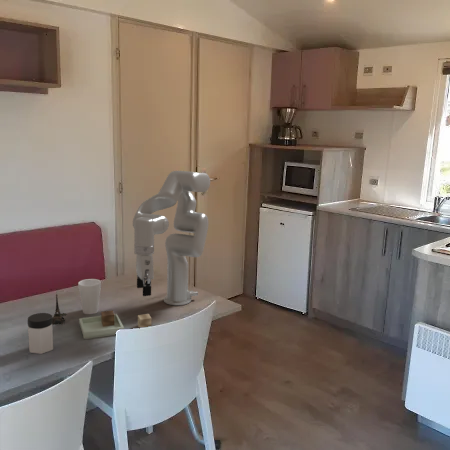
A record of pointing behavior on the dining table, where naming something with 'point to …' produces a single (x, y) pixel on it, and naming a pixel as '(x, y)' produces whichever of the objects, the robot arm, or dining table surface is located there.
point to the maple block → (144, 320)
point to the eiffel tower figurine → (58, 315)
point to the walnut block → (107, 318)
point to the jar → (40, 333)
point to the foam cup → (89, 295)
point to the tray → (98, 327)
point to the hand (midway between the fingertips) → (143, 291)
